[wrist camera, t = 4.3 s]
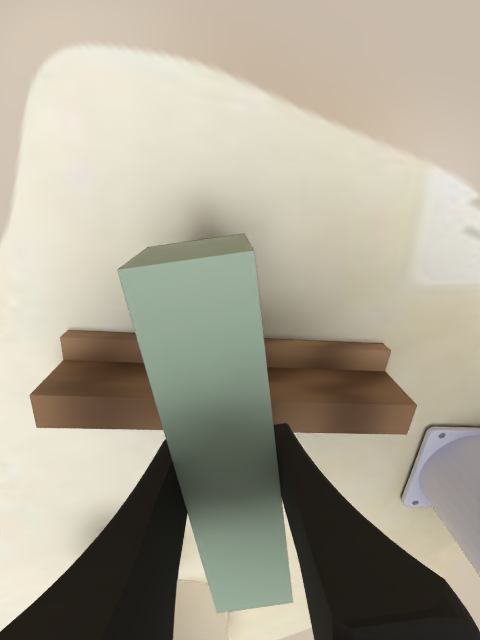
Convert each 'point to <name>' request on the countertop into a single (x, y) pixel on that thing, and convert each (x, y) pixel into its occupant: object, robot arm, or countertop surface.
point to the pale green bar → (215, 408)
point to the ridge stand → (283, 375)
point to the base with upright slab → (198, 614)
